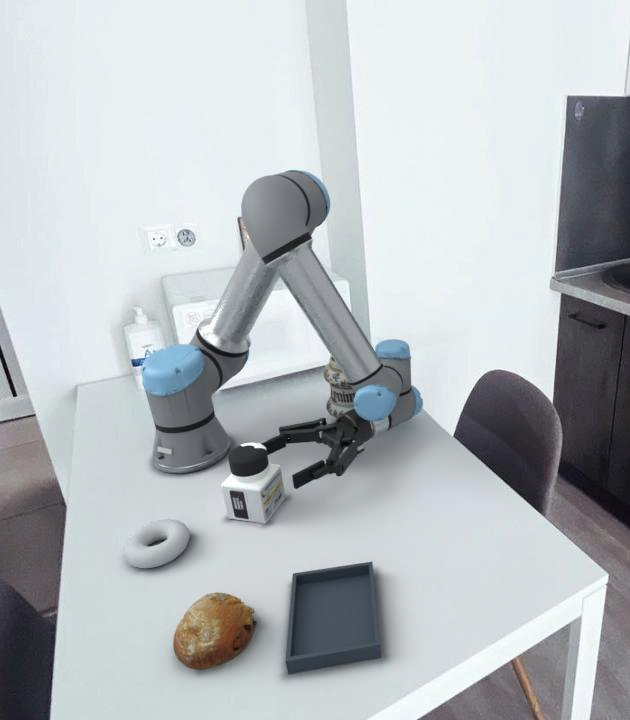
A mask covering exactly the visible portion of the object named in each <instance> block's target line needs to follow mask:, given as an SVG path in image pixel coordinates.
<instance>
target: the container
mask: <svg viewBox="0 0 630 720" xmlns="http://www.w3.org/2000/svg"><path fill="white" fill-rule="evenodd" d="M227 460H228V466H229V470H230V475H229V476H228V477H226V479H225V480H224V481H222V483H221V485H220V487H221V491H222V492H221V493H222V497H223V502H224V505H225V509H226V515H227V518H228V519H230V520H235V521H236V520H237V521H243V522H250V523H257V524H264V525H265V524H267V523H268V522H269V520H270V519H271V518H272V517H273V515H274V514H275V512H276V511H277V510H278V509H279V507H280V506H281V504H282V503H284V500H285V499H286V493H285V486H284V479H283V473H282V467H281V465H280V464H274V463H270V461H269V455H267V450H266V447H265V446H263V445H262V444H261V443H259V442H245V443H241V444H239V445H238V446H235V447H233V448H232V449H230V450H229V452H228V454H227Z"/></svg>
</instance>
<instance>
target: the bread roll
mask: <svg viewBox="0 0 630 720" xmlns="http://www.w3.org/2000/svg"><path fill="white" fill-rule="evenodd" d="M255 612H256V611H255V608H253V607H252V606H248V605H247V604H245V602H244V601H242V599H241V598H240V597H236V596H235V595H233V594H229V593H226V592H220V591H219V592H218V591H216V592H211V593H207V594H204V595H203V596H201V597H200V598H198V599H197V600H196V601H194V602H193V603H192V604H191V605H190V606H189V607H188V609H187V610H186V611H185V613H184V614H183V617H182V619H180V620H179V622H178V624H177V626H176V628H175V632H174V635H173V640H172V641H173V642H172V644H173V652H174V654H175V656H176V658H177V659H178V660H179V662H180V663H182V664H183V665H184V666H186V667H189V668H192V669H196V670H206V669H211V668H212V667H216V666H219V665H223V664H225V663H227V662H228V661H230V660H232V659H233V658H235V657H236V656H237V655H239V654H240V653H241V652H242V651H243V650H244V649H245V648H246V646H248V644H249V642H250V640H251V638H252V637H253V633H254V629H255V626H256V625H257V623H258V621H257V620H254V614H255Z"/></svg>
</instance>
